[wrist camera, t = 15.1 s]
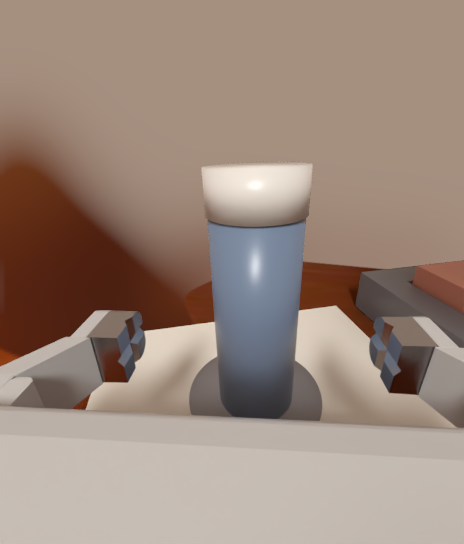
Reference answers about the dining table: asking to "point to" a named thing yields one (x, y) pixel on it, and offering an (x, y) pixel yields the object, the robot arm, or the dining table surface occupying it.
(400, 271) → the button housing
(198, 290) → the dining table surface
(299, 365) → the paper sheet
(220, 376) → the blue and white cylinder
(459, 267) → the button
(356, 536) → the robot arm
